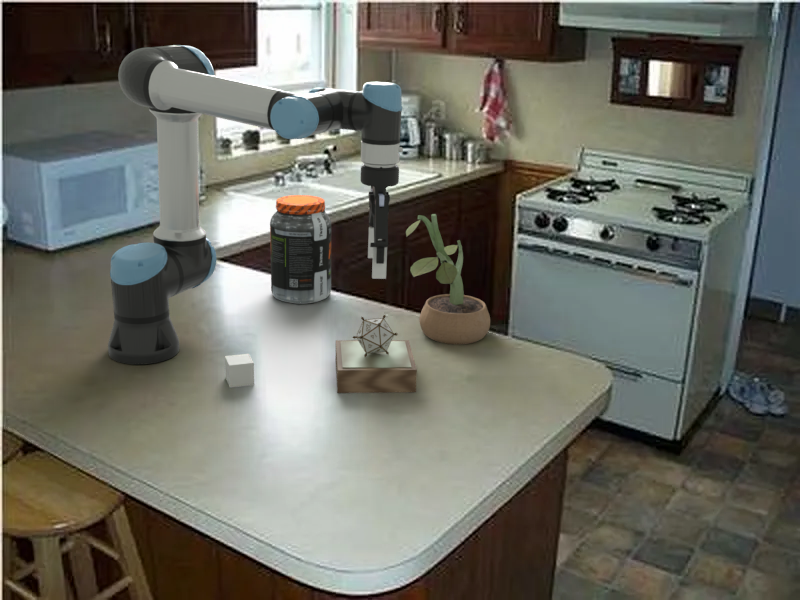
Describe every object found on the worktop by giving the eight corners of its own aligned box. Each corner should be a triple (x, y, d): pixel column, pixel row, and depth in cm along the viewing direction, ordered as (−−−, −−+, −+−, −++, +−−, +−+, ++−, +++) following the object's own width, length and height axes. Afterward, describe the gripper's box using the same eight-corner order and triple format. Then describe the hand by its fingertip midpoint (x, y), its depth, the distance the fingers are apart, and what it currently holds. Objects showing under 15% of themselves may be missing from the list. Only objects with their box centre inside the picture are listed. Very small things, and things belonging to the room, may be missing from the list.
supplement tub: (342, 299, 237) (343, 203, 228) (288, 309, 228) (287, 209, 220) (312, 283, 249) (312, 190, 240) (260, 291, 240) (259, 196, 232)
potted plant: (462, 316, 228) (469, 199, 218) (503, 340, 213) (513, 216, 204) (383, 329, 218) (387, 207, 208) (421, 355, 203) (427, 226, 193)
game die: (380, 372, 190) (390, 348, 182) (343, 355, 190) (352, 330, 182) (396, 340, 195) (406, 315, 187) (360, 324, 195) (369, 298, 187)
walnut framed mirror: (337, 392, 183) (337, 369, 181) (335, 361, 198) (335, 339, 196) (415, 392, 185) (416, 368, 183) (408, 361, 200) (408, 339, 198)
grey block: (229, 388, 184) (229, 365, 182) (225, 378, 188) (224, 356, 186) (254, 385, 185) (253, 362, 184) (249, 375, 190) (248, 353, 188)
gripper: (405, 177, 165) (400, 287, 172) (393, 152, 188) (390, 250, 195) (364, 176, 164) (361, 287, 171) (357, 151, 188) (355, 249, 195)
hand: (376, 267), depth 183 cm, fingers open, 13 cm apart
